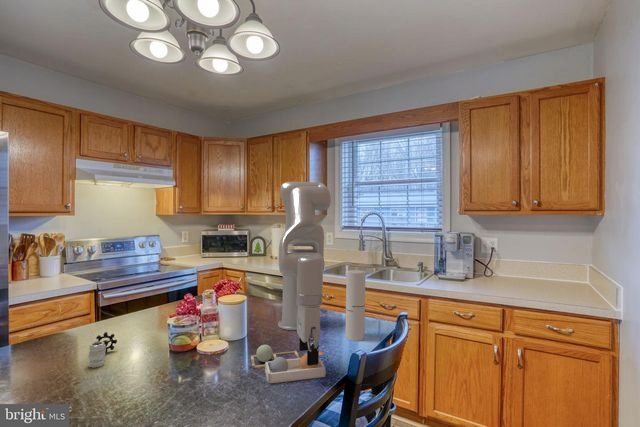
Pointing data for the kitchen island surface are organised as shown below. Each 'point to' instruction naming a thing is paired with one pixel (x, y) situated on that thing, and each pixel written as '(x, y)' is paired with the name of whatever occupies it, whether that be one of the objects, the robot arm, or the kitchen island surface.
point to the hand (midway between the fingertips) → (308, 357)
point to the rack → (273, 356)
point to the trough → (294, 372)
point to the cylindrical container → (355, 305)
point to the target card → (319, 353)
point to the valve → (100, 350)
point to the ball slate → (279, 365)
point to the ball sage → (264, 353)
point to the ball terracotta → (305, 363)
